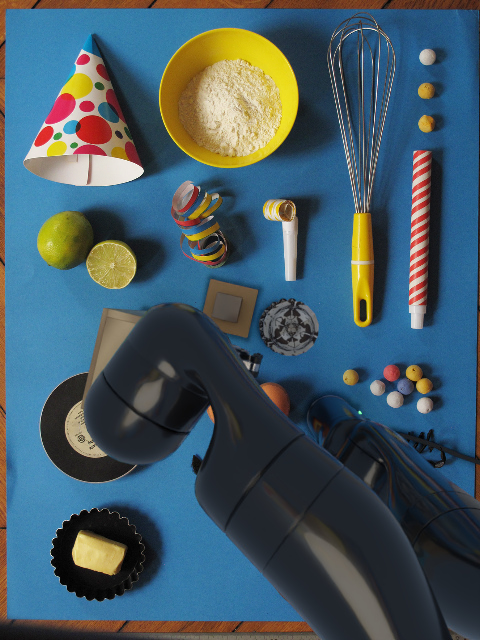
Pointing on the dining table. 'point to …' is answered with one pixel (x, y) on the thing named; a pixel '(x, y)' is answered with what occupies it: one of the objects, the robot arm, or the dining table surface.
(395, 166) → the dining table surface
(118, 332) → the shelf
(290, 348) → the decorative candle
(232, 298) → the block
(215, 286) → the mat
